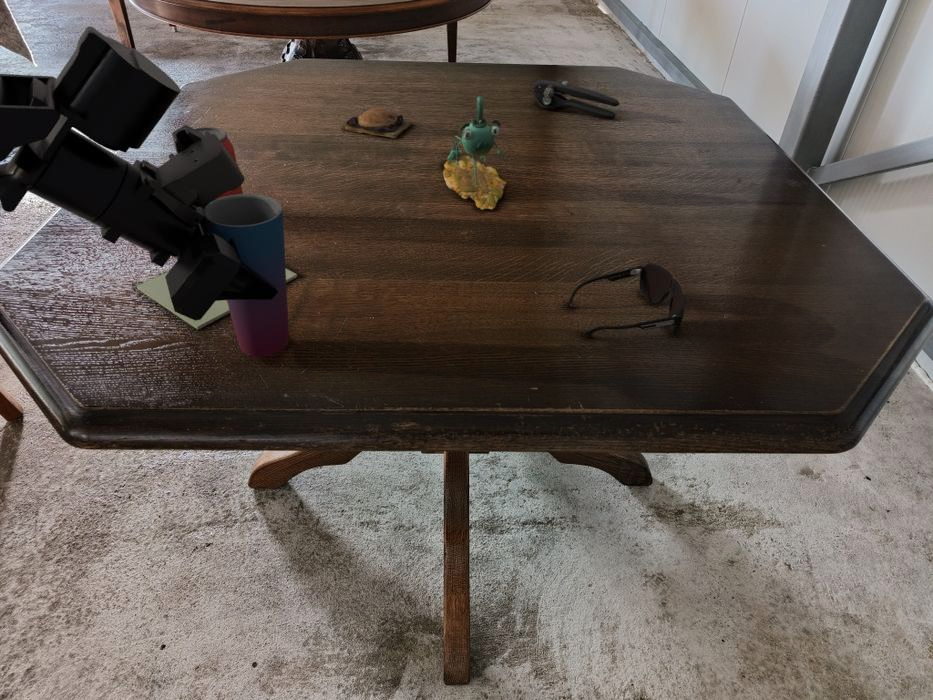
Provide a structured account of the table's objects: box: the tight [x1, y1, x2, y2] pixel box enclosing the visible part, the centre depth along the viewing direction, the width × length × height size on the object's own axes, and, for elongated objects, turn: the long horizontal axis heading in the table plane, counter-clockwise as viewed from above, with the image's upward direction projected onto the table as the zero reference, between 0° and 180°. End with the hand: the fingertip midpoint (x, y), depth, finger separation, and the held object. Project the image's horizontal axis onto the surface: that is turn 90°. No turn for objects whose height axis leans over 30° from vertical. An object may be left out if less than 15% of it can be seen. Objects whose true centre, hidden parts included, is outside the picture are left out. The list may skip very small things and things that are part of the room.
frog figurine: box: [442, 95, 507, 211], centre depth 95 cm, size 10×18×15 cm, turn 13°
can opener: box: [533, 79, 620, 120], centre depth 125 cm, size 18×7×6 cm, turn 67°
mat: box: [136, 268, 298, 331], centre depth 75 cm, size 14×12×1 cm
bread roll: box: [344, 106, 412, 139], centre depth 115 cm, size 11×8×4 cm
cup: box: [203, 193, 290, 358], centre depth 61 cm, size 7×7×15 cm
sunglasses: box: [567, 262, 686, 339], centre depth 72 cm, size 10×12×5 cm
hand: (267, 277), depth 61 cm, fingers closed on cup, 6 cm apart
